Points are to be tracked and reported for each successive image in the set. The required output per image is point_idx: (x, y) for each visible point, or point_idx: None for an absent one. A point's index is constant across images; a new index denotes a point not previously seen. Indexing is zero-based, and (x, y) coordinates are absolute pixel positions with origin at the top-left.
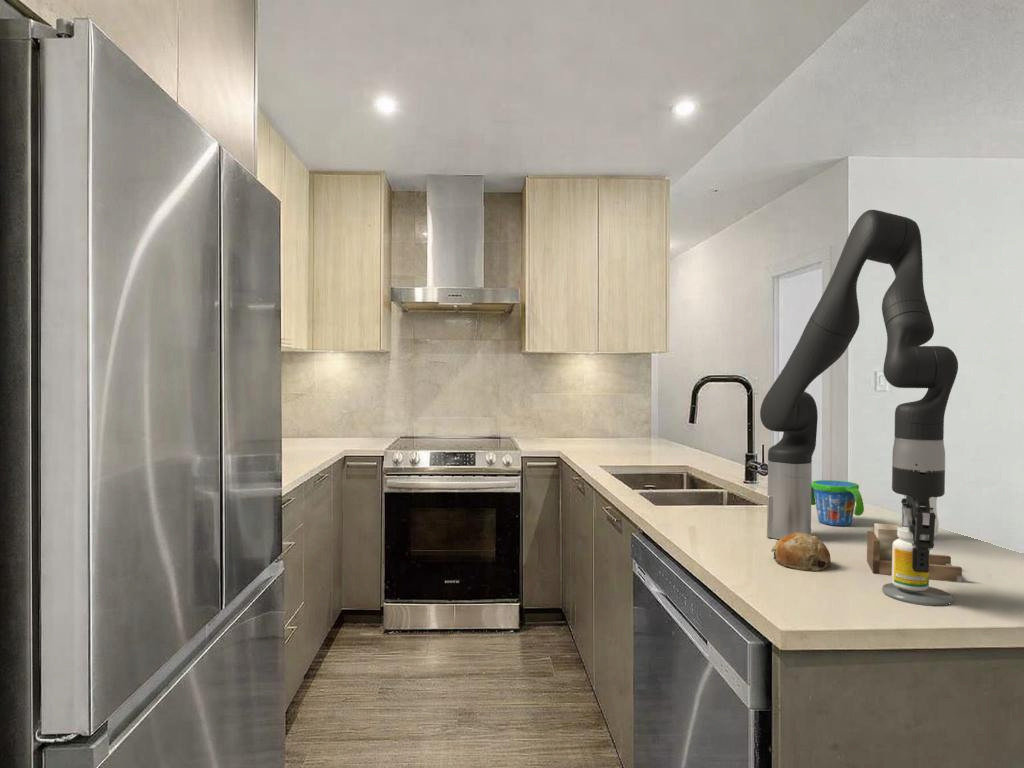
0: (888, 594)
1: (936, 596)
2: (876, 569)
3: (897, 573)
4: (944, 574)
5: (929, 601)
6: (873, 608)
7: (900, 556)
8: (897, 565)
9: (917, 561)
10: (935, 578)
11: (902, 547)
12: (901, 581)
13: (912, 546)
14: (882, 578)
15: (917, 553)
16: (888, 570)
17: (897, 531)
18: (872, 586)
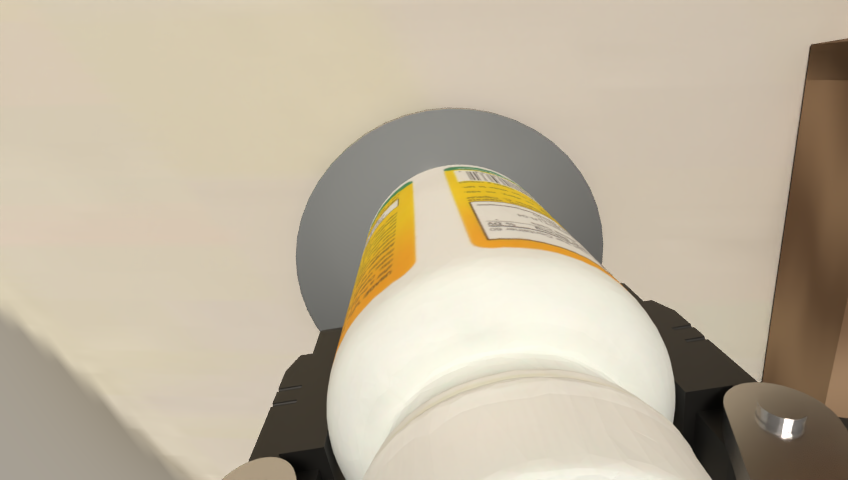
0: (354, 142)
1: None
2: (831, 63)
3: (384, 215)
4: (789, 380)
5: (318, 316)
6: (74, 73)
7: (359, 289)
8: (381, 234)
9: (275, 401)
10: (774, 334)
11: (345, 356)
12: (373, 224)
13: (280, 467)
14: (714, 101)
15: (253, 455)
16: (821, 133)
17: (536, 425)
18: (515, 51)
